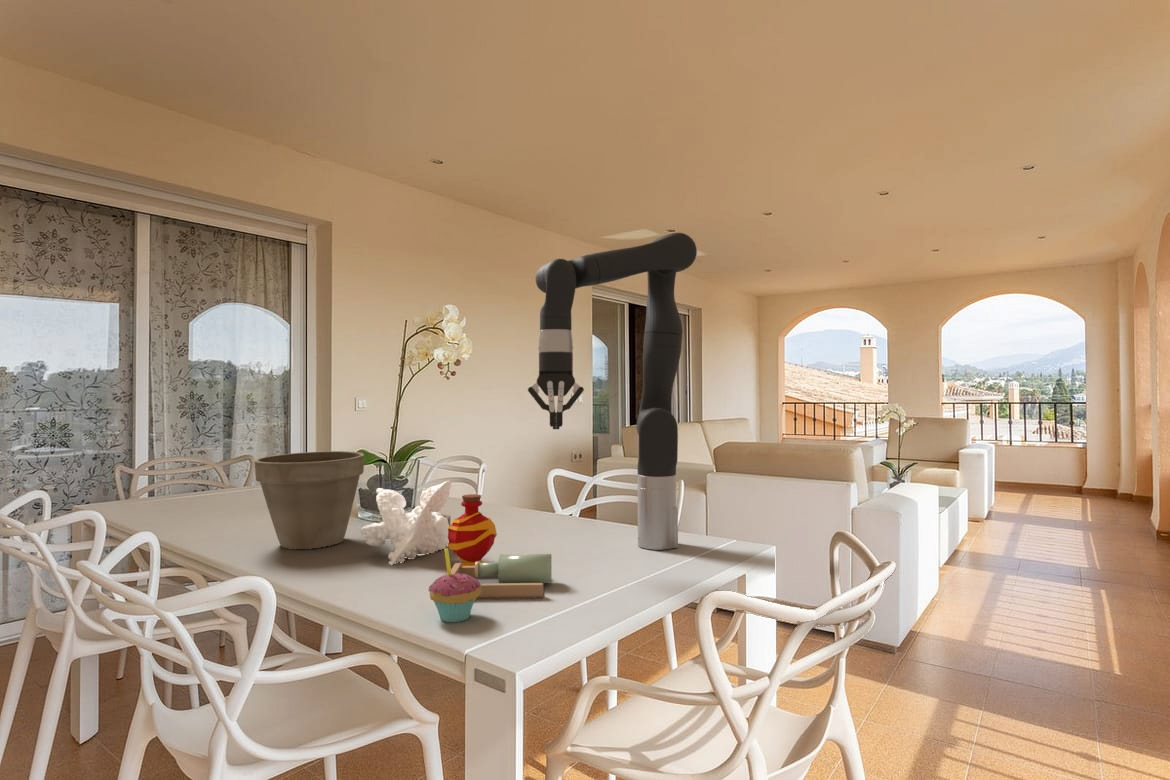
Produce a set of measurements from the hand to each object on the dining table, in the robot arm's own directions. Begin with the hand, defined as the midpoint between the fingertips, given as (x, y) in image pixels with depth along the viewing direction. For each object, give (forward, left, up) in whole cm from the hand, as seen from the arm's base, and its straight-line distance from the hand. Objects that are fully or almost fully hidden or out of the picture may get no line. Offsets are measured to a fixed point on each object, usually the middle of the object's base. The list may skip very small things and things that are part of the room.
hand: (556, 429), depth 144 cm
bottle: (+1, +18, -26) cm, 32 cm away
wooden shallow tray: (+11, +20, -29) cm, 37 cm away
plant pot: (+61, -18, -29) cm, 70 cm away
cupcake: (+16, +36, -29) cm, 49 cm away
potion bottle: (+18, +4, -29) cm, 35 cm away
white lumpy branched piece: (+34, -6, -29) cm, 45 cm away
